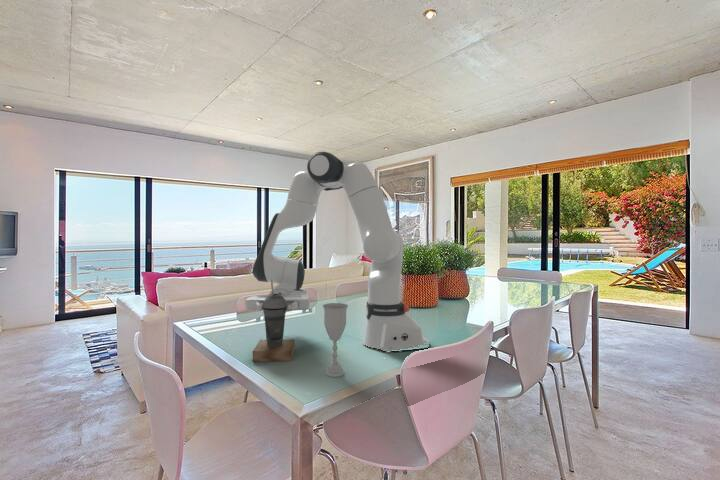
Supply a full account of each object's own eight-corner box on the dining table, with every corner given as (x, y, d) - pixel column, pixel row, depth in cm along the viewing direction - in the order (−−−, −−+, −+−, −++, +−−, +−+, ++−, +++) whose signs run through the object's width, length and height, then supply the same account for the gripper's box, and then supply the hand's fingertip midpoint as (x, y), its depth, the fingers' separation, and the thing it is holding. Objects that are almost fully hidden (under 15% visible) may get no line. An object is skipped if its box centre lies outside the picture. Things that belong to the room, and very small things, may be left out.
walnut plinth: (294, 348, 111) (295, 339, 111) (291, 360, 100) (291, 350, 100) (260, 349, 110) (260, 339, 110) (252, 361, 99) (252, 351, 99)
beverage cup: (280, 349, 101) (281, 281, 100) (257, 347, 102) (258, 280, 102) (290, 342, 108) (290, 278, 108) (269, 340, 109) (269, 277, 109)
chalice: (322, 367, 95) (322, 303, 95) (346, 367, 96) (347, 302, 95) (321, 378, 88) (322, 308, 88) (347, 378, 88) (348, 308, 88)
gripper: (250, 290, 117) (239, 297, 103) (310, 290, 119) (308, 297, 105) (250, 308, 117) (239, 318, 103) (310, 308, 119) (308, 318, 105)
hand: (274, 307), depth 104 cm, fingers open, 8 cm apart
